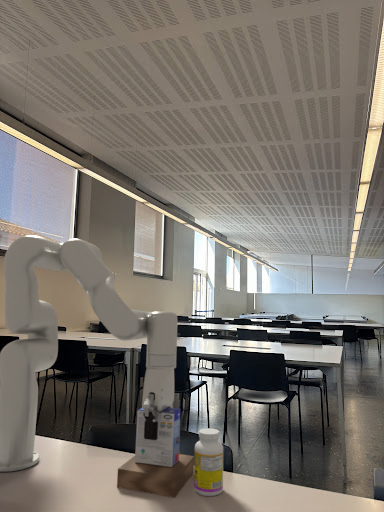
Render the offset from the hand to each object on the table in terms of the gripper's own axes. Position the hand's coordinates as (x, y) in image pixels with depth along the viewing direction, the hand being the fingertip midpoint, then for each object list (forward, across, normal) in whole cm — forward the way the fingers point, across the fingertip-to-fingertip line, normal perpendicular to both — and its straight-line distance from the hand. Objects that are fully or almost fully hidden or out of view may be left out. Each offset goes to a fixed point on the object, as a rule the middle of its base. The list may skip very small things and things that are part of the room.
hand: (158, 433), depth 94 cm
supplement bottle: (+11, +1, +13) cm, 17 cm away
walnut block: (+11, 0, 0) cm, 11 cm away
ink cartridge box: (+7, 0, 0) cm, 7 cm away
